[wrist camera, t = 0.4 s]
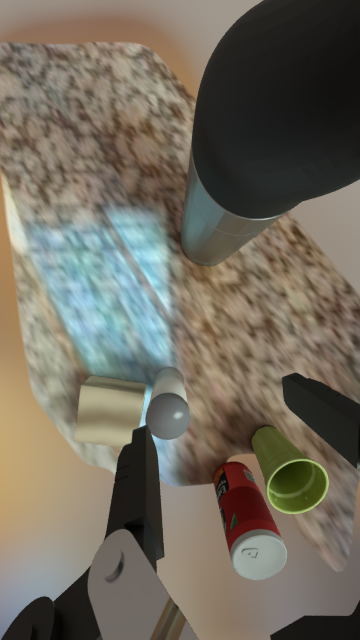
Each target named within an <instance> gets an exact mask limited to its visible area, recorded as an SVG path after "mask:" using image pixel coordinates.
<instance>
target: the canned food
mask: <svg viewBox="0 0 360 640" xmlns="http://www.w3.org/2000/svg"><path fill="white" fill-rule="evenodd" d="M214 486H215V490H216V495H217V499H218V504H219V509H220V513H221V517H222V522H223V527H224V531H225V536H226V540H227V544H228V549H229V553H230V557H231V561H232V564H233V567H234V569H235V570H236V572H237V573H238V574H240V575H241V576H242V577H245V578H247V579H251V580H262V579H266V578H269V577H272V576H273V575H275V574H277V573H278V572H279V571H280V570H281V569H282V568H283V566H284V565H285V563H286V559H287V550H286V548H285V545H284V542H283V540H282V538H281V536H280V533H279V531H278V529H277V527H276V524H275V522H274V520H273V518H272V516H271V514H270V511H269V509H268V507H267V505H266V503H265V501H264V498H263V496H262V494H261V492H260V490H259V488H258V485H257V484H256V481H255V479H254V477H253V475H252V472H251V471H250V470H249V469H248V468H247V467H246V466H245V465H244V464H242V463H240V462H227V463H225V464H223V465H221V466H220V467H219V468H218V469H217V471H216V473H215V476H214Z"/></svg>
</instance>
